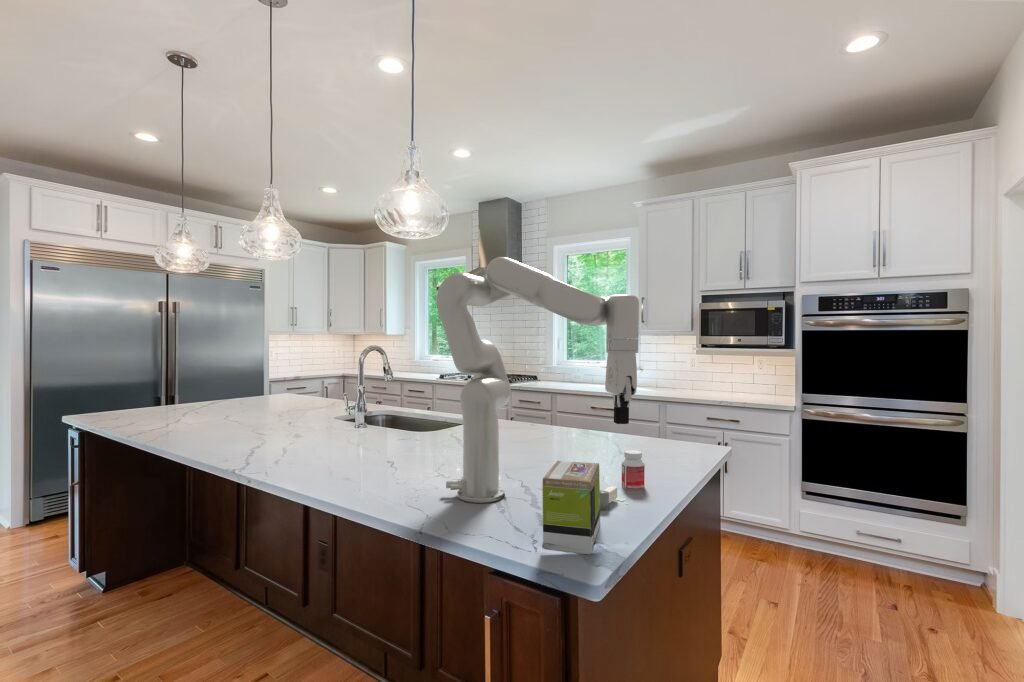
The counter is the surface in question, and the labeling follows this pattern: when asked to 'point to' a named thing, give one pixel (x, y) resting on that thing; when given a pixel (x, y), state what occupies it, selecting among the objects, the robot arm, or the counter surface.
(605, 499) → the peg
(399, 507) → the counter surface
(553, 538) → the tea box
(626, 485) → the pill bottle
